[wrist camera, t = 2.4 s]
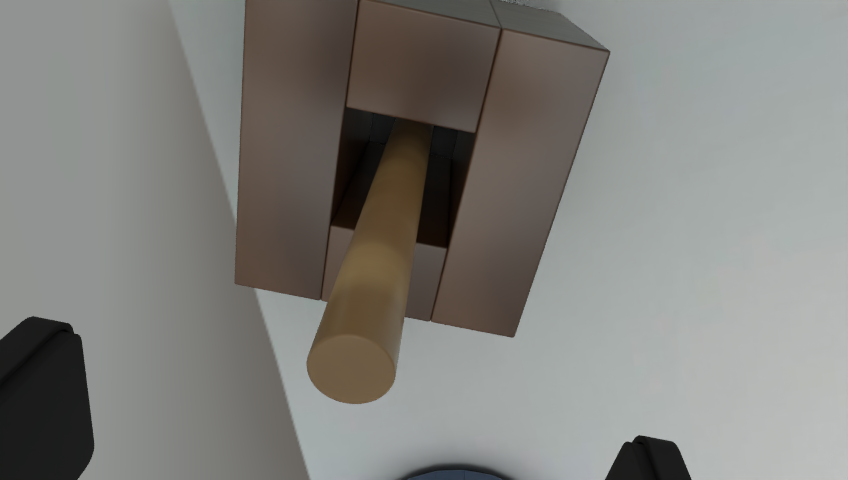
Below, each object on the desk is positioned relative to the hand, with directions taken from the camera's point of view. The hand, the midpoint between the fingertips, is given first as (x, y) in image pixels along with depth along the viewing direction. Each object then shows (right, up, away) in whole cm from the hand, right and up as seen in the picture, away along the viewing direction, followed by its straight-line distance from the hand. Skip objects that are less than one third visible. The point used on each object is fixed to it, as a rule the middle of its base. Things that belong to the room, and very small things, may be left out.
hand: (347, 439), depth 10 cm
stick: (+1, +10, +19) cm, 22 cm away
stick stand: (+1, +10, +19) cm, 22 cm away
